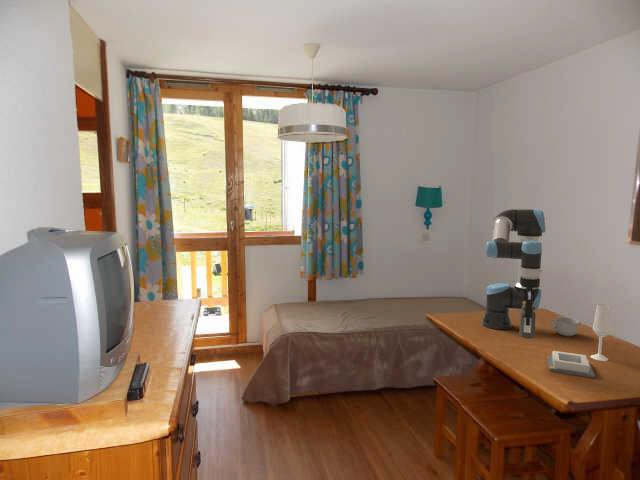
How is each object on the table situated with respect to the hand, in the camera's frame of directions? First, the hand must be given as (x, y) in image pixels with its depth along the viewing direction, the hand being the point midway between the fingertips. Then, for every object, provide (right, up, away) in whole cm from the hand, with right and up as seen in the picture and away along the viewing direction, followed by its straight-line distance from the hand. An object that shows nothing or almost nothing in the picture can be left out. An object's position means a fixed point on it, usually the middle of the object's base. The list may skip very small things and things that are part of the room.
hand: (527, 329), depth 182 cm
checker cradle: (+17, -15, -3) cm, 23 cm away
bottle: (0, -3, 0) cm, 3 cm away
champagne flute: (+36, -14, +7) cm, 39 cm away
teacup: (+37, -11, +38) cm, 54 cm away
